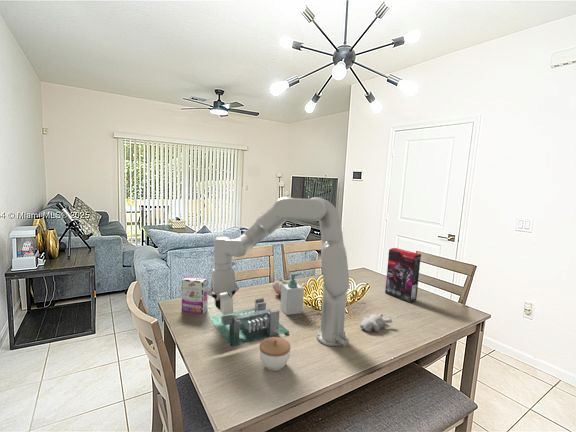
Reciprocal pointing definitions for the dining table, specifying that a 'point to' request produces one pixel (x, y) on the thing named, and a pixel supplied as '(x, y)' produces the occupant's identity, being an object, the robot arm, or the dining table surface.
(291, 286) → the soap bottle
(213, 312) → the dining table surface
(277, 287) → the decorative fruit
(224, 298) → the plain white rectangular block
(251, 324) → the green base metal fixture
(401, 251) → the graphics card box
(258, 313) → the grey capped bar
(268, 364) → the lidded jar
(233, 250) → the robot arm
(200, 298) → the candy bar box
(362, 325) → the bunny figurine
